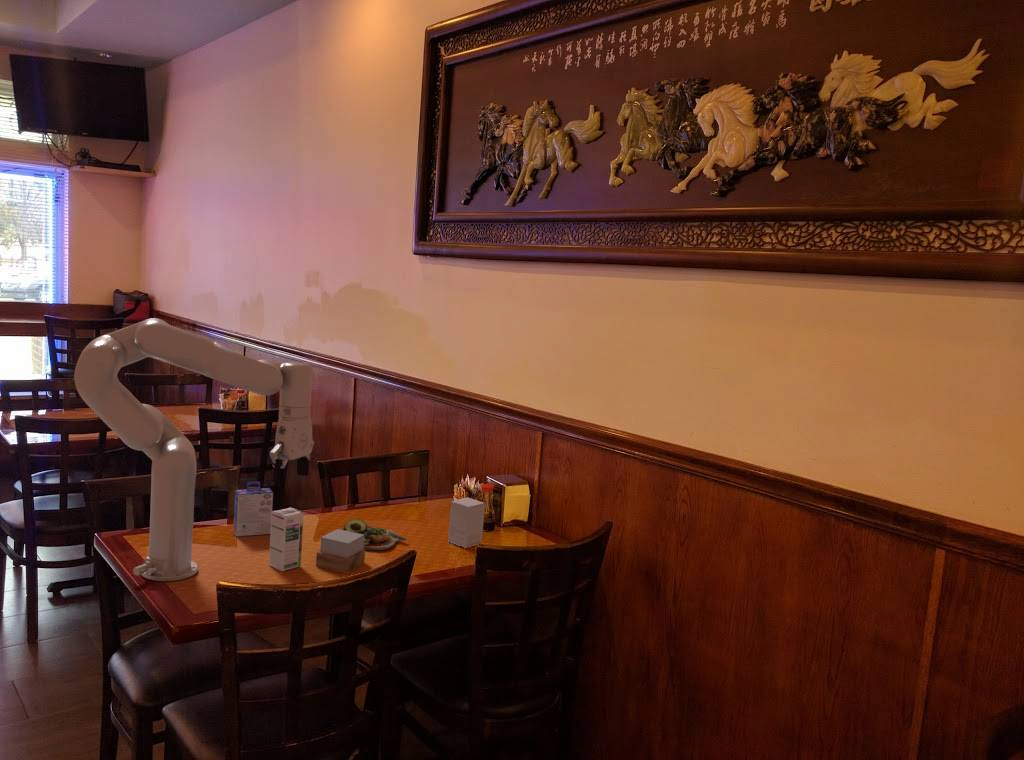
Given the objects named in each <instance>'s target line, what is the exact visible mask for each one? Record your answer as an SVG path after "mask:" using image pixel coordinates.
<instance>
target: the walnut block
mask: <svg viewBox="0 0 1024 760" xmlns="http://www.w3.org/2000/svg"><path fill="white" fill-rule="evenodd" d="M365 557H366V550H365V549H363V550H361V551H359V552H358V553H356V554H354V555H352V556H351V557H349V558H343V557H339V556H335V555H330V554H326V553H322V552H320V550H319V551H317V552H316V558H315V567H318V568H322V569H327V570H330V571H333V572H334V571H336V572H339V573H344V574H348V573H350V572H351V571H353V570H354V569H356V568H357V567H359V566H361V565H363V564H364V563H365Z"/></svg>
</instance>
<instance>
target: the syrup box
mask: <svg viewBox="0 0 1024 760" xmlns="http://www.w3.org/2000/svg"><path fill="white" fill-rule="evenodd" d="M303 528H304V512H303V511H301V510H299V509H297V508H293V507H288V508H283V509H279V510H272V513H271V534H269V535H270V539H269V540H270V541H269V556H268V557H269V559H268V560H269V561H268V564H269V566H270V567H272V568H273V569H276V570H277V571H280V572H285V571H287V570H288V571H289V570H292V569H296V568H300V567H301V565H302V549H303V548H302V547H303Z"/></svg>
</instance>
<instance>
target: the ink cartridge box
mask: <svg viewBox="0 0 1024 760" xmlns="http://www.w3.org/2000/svg"><path fill="white" fill-rule="evenodd" d="M253 484H254V485H257V486H250V485H253ZM273 501H274V491H273V490H272V489H271V488H270V487H266V488H265V487H264V488H262V487H261V481H259V480H258V481H257V480H256V481H246V489H236V490H234V510H233V511H234V513H233V515H234V516H233V528H232V532H233V534H234V536H235V537H247V536H257V535H258V536H259V535H271V513H272V511H273Z"/></svg>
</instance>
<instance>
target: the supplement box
mask: <svg viewBox="0 0 1024 760" xmlns="http://www.w3.org/2000/svg"><path fill="white" fill-rule="evenodd" d="M485 508H486V502H483V501H480V500H477V499H475V498H471V497H463V498H459V499H454V500H451V502H450V510H449V511H450V512H449V513H450V514H449V525H448V536H447V537H448V539H447V543H449V542H451V543H450V544H452V543H453V544H452V545H454V544H456V545H455V546H457V545H458V546H457V547H460V546H462V547H464V548H463V549H465V548H467V547H470V548H472V547H471V546H473V545H475V544H476V545H477V546H479V544H478V543H481V542H483V532H484V519H485ZM476 545H475V546H474V547H476ZM462 547H461V548H462ZM467 549H468V548H467Z"/></svg>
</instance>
